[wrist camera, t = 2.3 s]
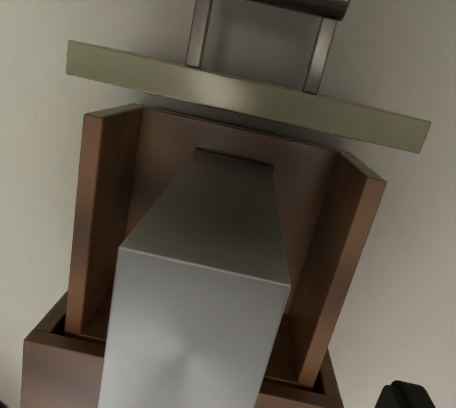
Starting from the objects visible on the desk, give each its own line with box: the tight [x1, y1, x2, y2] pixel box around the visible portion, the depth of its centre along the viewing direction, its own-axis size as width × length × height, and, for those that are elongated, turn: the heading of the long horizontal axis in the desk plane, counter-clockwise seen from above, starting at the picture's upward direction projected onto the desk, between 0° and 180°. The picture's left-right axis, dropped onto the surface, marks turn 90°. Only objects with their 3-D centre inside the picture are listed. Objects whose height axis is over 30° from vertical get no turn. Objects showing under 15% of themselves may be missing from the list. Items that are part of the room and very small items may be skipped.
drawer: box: [64, 0, 431, 392], centre depth 19 cm, size 18×13×7 cm
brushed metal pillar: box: [97, 147, 291, 408], centre depth 15 cm, size 5×4×12 cm
